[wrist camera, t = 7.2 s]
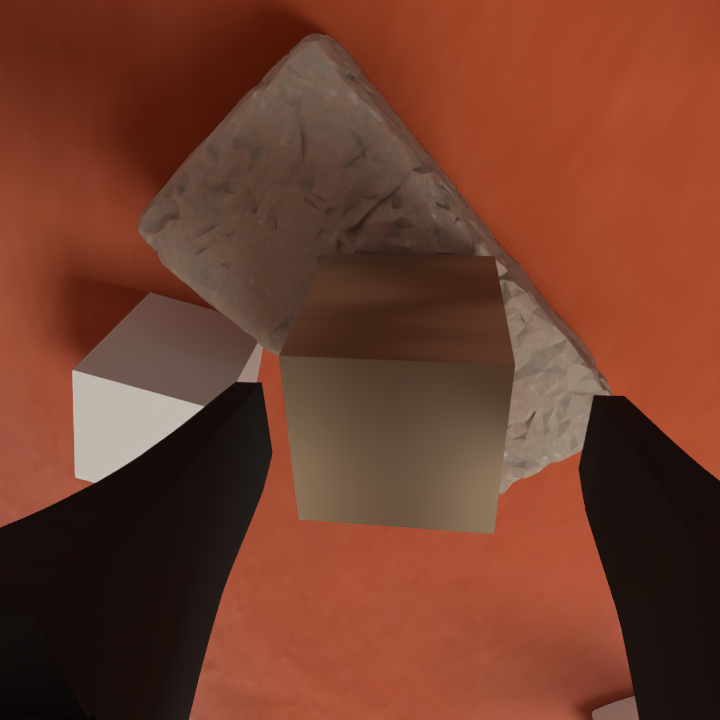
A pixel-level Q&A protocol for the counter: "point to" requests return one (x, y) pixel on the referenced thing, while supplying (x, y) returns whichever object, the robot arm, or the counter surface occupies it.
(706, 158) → the counter surface
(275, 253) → the brick
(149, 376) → the grey block
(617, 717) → the joystick
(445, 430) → the walnut block
